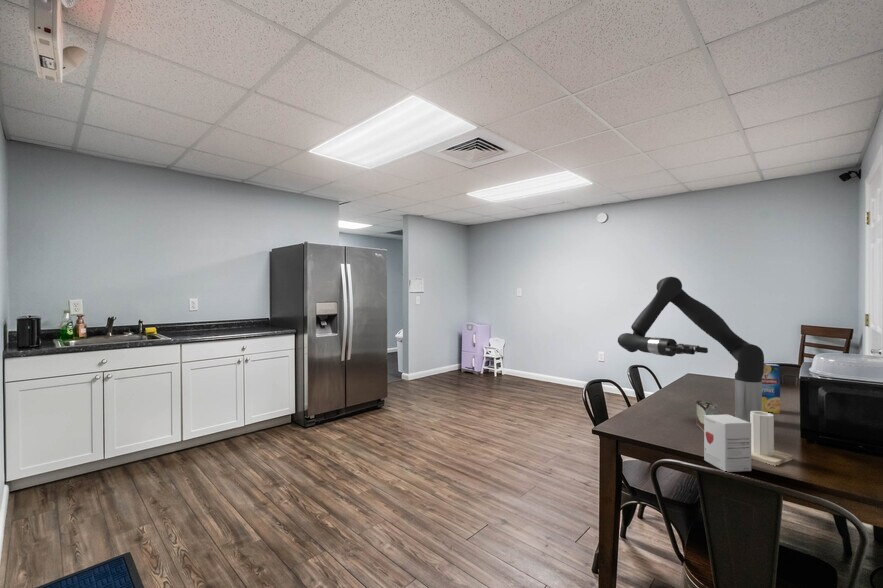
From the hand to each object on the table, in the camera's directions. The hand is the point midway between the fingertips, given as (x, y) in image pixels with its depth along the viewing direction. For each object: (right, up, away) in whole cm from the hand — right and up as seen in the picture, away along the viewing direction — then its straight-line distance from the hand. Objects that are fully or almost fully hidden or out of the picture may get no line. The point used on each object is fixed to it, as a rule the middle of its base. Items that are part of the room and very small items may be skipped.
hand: (701, 351), depth 155 cm
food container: (+5, -32, +3) cm, 32 cm away
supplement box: (-13, -32, -31) cm, 46 cm away
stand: (+5, -32, -24) cm, 40 cm away
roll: (+5, -31, -24) cm, 39 cm away
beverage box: (+49, -33, +30) cm, 66 cm away
